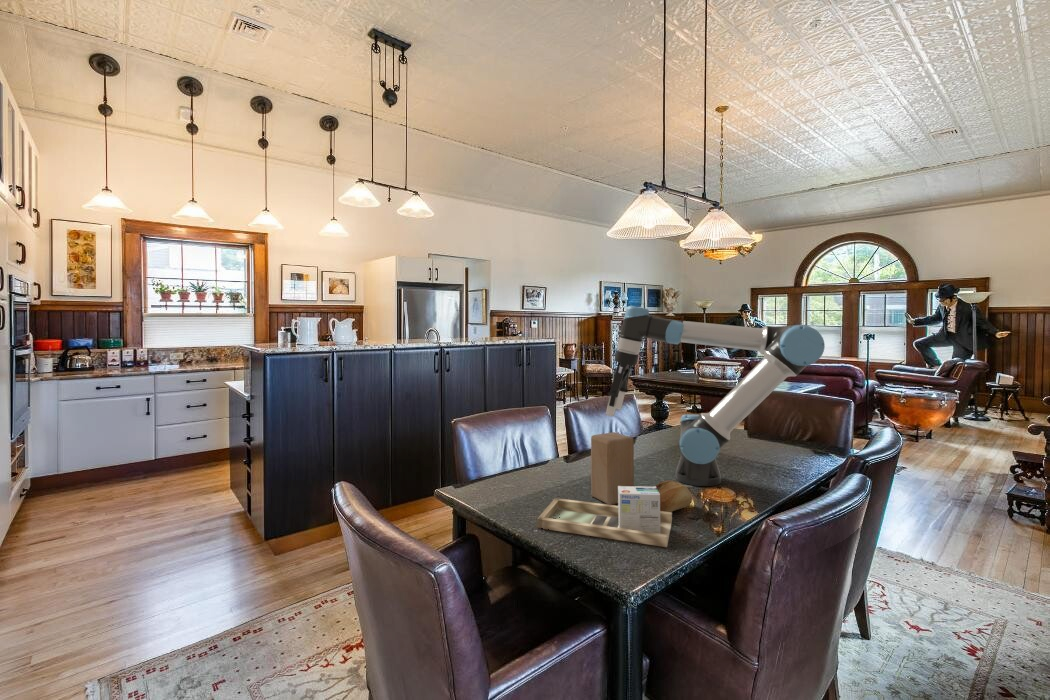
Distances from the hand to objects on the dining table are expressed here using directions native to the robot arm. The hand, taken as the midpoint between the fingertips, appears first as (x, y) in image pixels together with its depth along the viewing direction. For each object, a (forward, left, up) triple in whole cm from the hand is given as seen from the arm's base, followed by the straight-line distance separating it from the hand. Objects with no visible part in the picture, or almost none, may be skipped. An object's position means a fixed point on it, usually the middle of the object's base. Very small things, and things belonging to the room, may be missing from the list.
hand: (613, 412), depth 163 cm
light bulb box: (-13, +34, -25) cm, 44 cm away
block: (-2, +14, -25) cm, 29 cm away
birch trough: (-4, +34, -25) cm, 43 cm away
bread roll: (-20, +17, -25) cm, 36 cm away
